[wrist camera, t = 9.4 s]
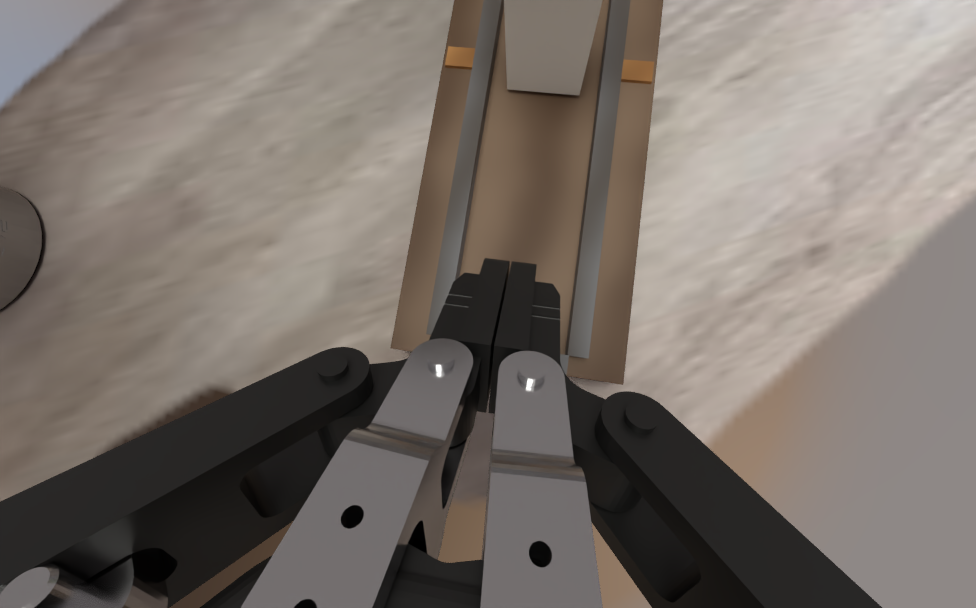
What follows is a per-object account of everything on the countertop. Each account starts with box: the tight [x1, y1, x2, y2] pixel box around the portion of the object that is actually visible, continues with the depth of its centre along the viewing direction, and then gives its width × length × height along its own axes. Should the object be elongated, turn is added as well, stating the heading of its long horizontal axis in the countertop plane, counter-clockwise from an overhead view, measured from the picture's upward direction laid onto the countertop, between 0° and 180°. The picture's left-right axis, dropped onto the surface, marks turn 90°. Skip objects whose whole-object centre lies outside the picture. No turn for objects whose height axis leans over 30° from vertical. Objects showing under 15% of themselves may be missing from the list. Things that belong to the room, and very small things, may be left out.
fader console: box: [391, 0, 663, 385], centre depth 21 cm, size 12×24×4 cm, turn 171°
